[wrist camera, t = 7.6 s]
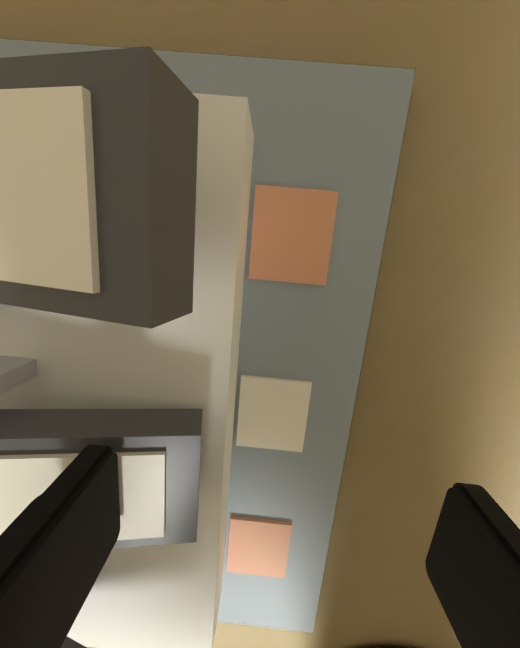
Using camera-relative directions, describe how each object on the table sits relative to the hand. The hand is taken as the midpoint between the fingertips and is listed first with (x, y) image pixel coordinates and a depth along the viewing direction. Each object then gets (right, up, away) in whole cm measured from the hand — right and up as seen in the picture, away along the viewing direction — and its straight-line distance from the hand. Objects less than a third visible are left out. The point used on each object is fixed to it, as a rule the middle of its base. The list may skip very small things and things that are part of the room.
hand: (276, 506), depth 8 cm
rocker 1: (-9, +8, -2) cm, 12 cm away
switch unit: (-9, +2, +7) cm, 11 cm away
